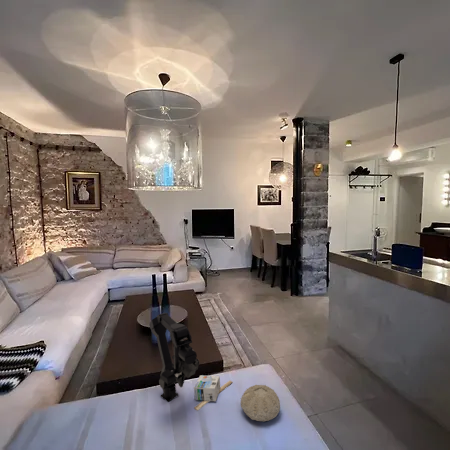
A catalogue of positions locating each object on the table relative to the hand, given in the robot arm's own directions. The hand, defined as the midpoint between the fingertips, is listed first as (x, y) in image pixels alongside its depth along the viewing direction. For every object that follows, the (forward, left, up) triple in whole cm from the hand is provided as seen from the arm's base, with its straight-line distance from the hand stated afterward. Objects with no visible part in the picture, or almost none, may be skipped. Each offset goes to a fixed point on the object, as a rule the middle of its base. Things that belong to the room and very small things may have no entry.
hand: (181, 386), depth 126 cm
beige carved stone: (+28, +23, -12) cm, 38 cm away
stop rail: (+4, +18, -12) cm, 22 cm away
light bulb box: (+6, +18, -8) cm, 21 cm away
